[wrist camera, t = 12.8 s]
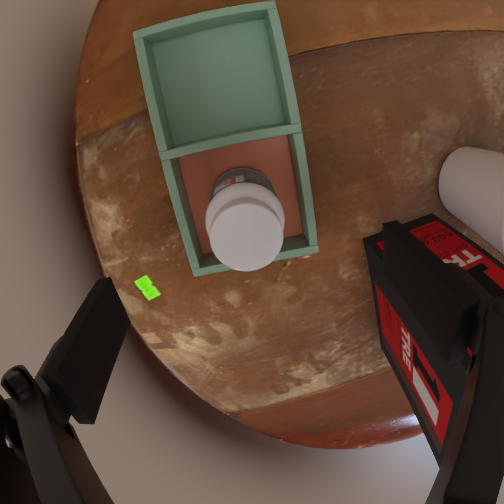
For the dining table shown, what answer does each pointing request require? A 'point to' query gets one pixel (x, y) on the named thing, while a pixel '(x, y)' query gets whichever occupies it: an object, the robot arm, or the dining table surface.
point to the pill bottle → (244, 219)
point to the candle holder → (475, 191)
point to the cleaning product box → (414, 337)
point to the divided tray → (226, 118)
